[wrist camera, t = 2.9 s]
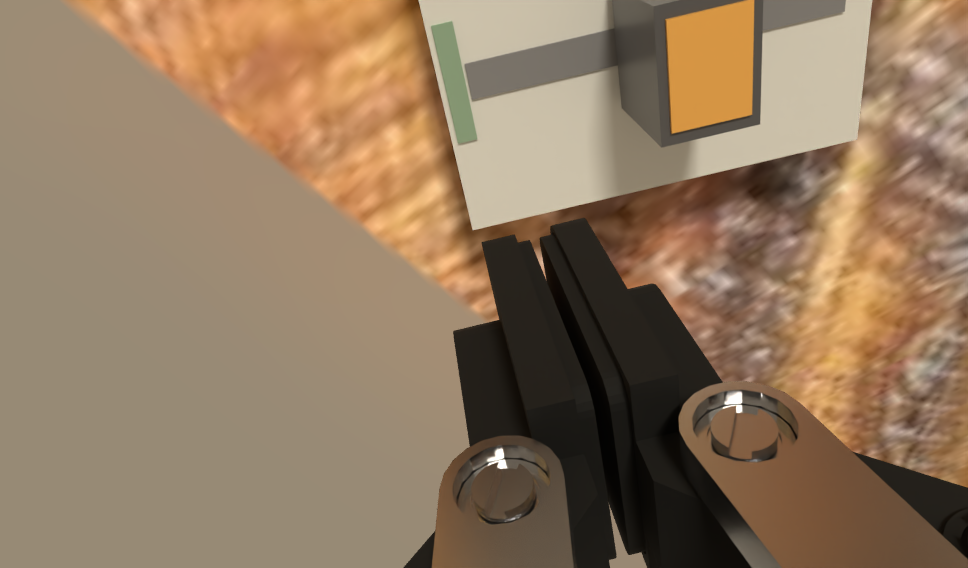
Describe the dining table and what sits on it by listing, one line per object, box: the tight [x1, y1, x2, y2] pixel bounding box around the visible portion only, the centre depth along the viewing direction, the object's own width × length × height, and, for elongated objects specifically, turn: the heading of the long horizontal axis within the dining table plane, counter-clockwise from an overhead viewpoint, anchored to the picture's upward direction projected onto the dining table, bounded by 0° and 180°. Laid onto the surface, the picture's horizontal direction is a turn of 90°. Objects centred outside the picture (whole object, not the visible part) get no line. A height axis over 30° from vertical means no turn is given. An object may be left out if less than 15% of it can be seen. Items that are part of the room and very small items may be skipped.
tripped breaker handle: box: [612, 0, 763, 148], centre depth 20 cm, size 3×4×4 cm
